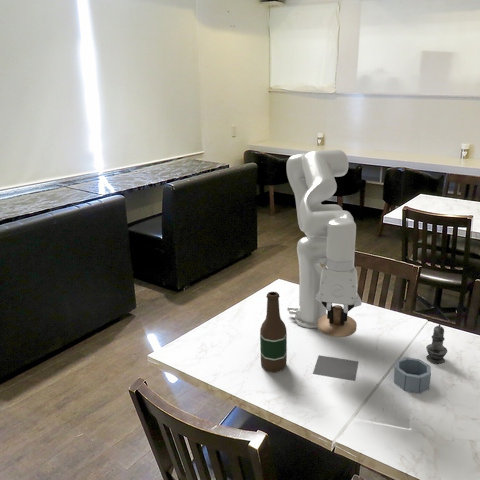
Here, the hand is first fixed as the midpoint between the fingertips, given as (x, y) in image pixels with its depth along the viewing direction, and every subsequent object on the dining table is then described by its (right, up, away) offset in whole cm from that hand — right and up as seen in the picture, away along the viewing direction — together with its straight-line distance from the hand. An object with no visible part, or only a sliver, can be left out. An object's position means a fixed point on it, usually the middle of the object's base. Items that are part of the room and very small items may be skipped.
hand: (337, 321), depth 131 cm
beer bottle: (-18, -15, +6) cm, 24 cm away
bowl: (+20, -16, -3) cm, 26 cm away
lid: (0, -2, +1) cm, 2 cm away
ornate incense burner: (+31, -13, +7) cm, 35 cm away
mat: (+1, -15, +4) cm, 15 cm away
